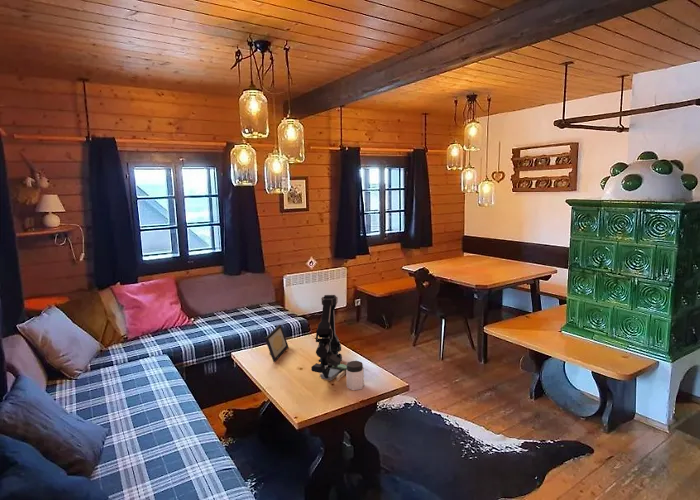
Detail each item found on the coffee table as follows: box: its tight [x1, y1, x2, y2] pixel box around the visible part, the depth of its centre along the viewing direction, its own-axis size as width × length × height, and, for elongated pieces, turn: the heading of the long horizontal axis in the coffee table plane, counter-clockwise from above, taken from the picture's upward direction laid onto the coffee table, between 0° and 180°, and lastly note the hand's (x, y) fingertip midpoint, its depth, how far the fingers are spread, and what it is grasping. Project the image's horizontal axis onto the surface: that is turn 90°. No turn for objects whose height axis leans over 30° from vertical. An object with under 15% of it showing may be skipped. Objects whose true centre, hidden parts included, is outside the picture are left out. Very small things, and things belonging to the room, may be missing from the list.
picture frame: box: [264, 324, 289, 363], centre depth 265 cm, size 23×9×15 cm, turn 168°
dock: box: [319, 363, 347, 382], centre depth 235 cm, size 12×16×4 cm
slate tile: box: [320, 367, 343, 382], centre depth 234 cm, size 12×6×2 cm, turn 151°
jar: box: [345, 360, 365, 391], centre depth 219 cm, size 9×8×12 cm
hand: (326, 378), depth 228 cm, fingers closed
